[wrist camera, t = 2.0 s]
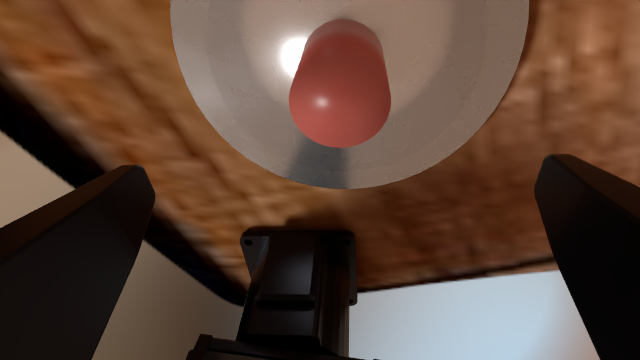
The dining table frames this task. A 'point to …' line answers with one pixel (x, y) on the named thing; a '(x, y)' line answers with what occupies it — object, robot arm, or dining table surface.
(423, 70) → the lid
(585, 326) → the robot arm
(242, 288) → the dining table surface
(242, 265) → the dining table surface
